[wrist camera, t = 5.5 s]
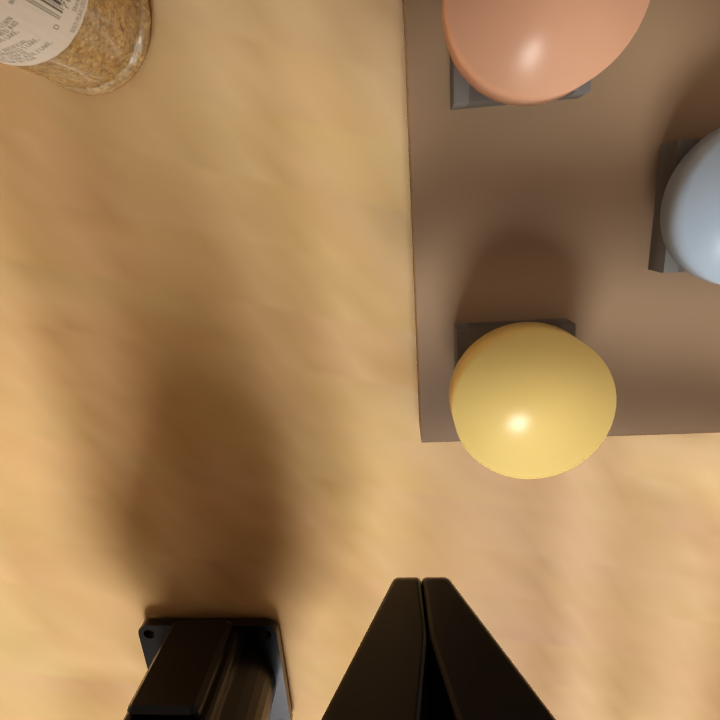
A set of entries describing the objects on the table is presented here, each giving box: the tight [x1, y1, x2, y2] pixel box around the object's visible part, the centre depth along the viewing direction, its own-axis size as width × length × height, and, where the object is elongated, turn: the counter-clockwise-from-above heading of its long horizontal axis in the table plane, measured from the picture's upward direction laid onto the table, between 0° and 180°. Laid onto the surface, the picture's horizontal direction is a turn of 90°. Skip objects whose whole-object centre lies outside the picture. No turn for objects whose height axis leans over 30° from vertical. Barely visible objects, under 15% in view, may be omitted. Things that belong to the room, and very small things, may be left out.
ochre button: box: [449, 322, 617, 479], centre depth 14 cm, size 4×4×2 cm
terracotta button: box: [442, 0, 650, 106], centre depth 11 cm, size 4×4×2 cm
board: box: [403, 0, 720, 443], centre depth 15 cm, size 15×12×2 cm
